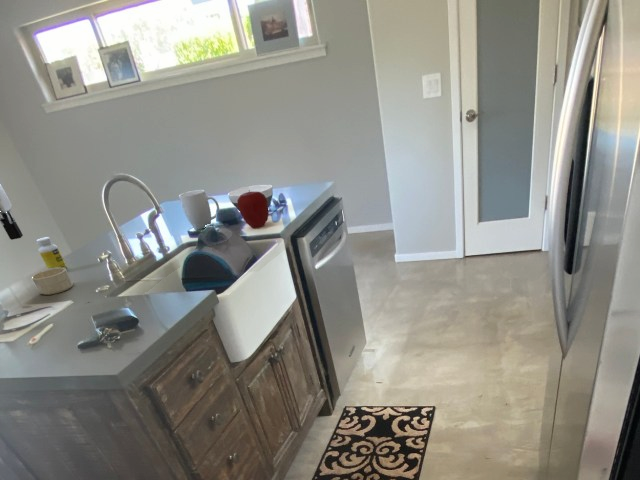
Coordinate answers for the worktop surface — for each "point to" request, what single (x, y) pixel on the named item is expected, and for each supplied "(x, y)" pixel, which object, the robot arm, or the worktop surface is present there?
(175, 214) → the worktop surface
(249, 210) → the apple
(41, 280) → the small bowl
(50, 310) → the worktop surface
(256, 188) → the bowl
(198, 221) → the mug
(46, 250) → the pill bottle
